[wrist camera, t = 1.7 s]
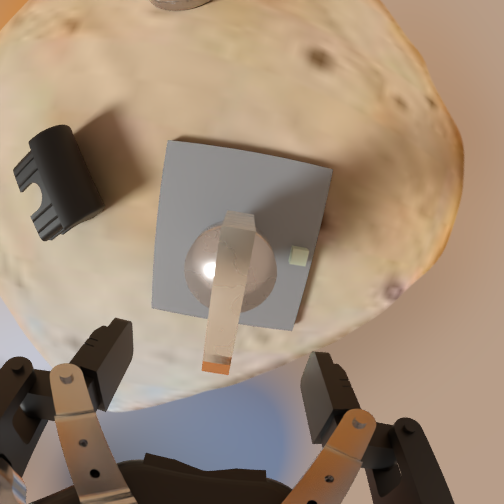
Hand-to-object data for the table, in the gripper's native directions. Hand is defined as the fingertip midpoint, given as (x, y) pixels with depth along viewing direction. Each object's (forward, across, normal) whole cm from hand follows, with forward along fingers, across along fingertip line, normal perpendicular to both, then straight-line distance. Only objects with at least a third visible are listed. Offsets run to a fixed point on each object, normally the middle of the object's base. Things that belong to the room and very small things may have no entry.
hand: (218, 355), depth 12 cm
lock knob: (+12, 0, 0) cm, 12 cm away
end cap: (+18, +19, -4) cm, 27 cm away
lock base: (+18, 0, 0) cm, 18 cm away
